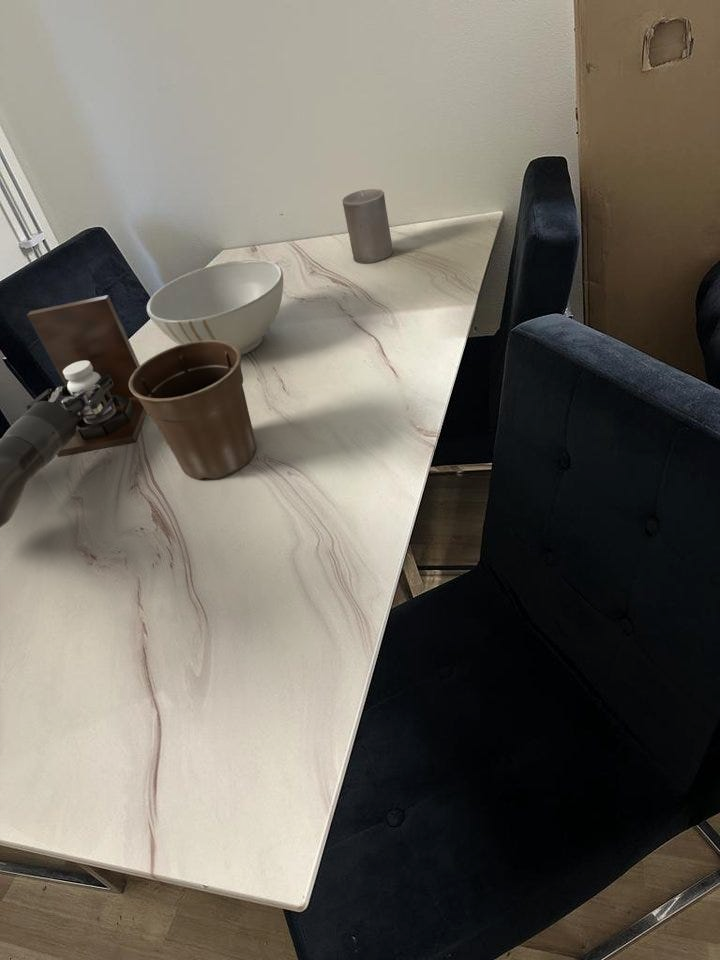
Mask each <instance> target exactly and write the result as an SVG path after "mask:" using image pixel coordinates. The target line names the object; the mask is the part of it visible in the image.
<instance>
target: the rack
mask: <svg viewBox="0 0 720 960" xmlns="http://www.w3.org/2000/svg"><path fill="white" fill-rule="evenodd" d="M26 316H27V318H28V320H29V321H30V323H31V325H32V327H33V329H34V331H35V333H36V334H37V336H38V338H39V340H40V342H41V344H42V346H43V348H44V349H45V351H46V353H47V355H48V356H49V359H50V360H51V362H52V364H53V366H54V367H55V370H56V371H57V373H58V375H59V378H60V379H61V380H62V382H63V385H65V384H66V383H67V382H68V381H69V380H67V379H66V378H65V376H64V374H63V370H64V369H65V368H66V367H67V366H69V365H71V364H73V363H75V362H78V361H84V360H86V361H89V362H90V363H91V365H92V367H93V372H96V373H98V374H99V375H100V376H101V377H102V376H103V375H104V374H109V375H110V377H111V379H112V381H113V383H114V385H113V386H112V387H111V388H110V389H109V392H110V394H111V396H112V398H113V400H112V401H113V403H114V405H115V407H116V413H115V414H114V416H113V417H112V418H110V419H109V420H107V421H105V422H103V423H99V424H88V423H86V422H85V421H84V419H81V420H80V421H79V422H77V426H76V433H75V435H74V436H73V438H72V439H71V440H70V441H69V442H68V443H67V444H66V445H65V446H64V448H63V449H62V450H61V451H60V452H59V453H58V454H57V455H56V457H64V456H68V455H74V454H79V453H84V452H90V451H95V450H100V449H106V448H111V447H116V446H122V445H127V444H133V443H136V442H137V439H138V437H139V434H140V431H141V429H142V427H143V424H144V422H145V418H146V415H147V414H148V413H147V412H146V410H145V409H144V407H143V405H142V404H141V402H140V400H139V399H138V398H137V397H135V396H134V395H133V394H132V392H131V390H130V388H129V381H130V378H131V376H132V374H133V373H134V371H135V370H136V369H137V368H138V367H139V366H141V364H140V362H139V360H138V357H137V355H136V352H135V351H134V349H133V346H132V345H131V342H130V340H129V337H128V336H127V333H126V331H125V329H124V327H123V324H122V322H121V320H120V318H119V316H118V313H117V311H116V309H115V306H114V304H113V302H112V300H111V298H110V295H109V294H107V295H106V294H105V295H102V296H101V295H100V296H97V297H92V298H88V299H83V300H77V301H73V302H69V303H64V304H58V305H55V306H53V305H52V306H50V307H45V308H40V309H39V308H38V309H35V310H30V311H29V312H28V314H27V315H26Z"/></svg>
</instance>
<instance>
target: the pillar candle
mask: <svg viewBox="0 0 720 960" xmlns="http://www.w3.org/2000/svg"><path fill="white" fill-rule="evenodd" d="M385 197H386V196H385V192H384V191H383V190H382V189H379V188H378V189H377V188H376V189H375V188H370V189H361V190H358V191H354V192H352V193H349V194H347V195H346V196H344V197H343V198H342V207H343V211H344V217H345V222H346V227H347V232H348V236H349V241H350V242H349V243H350V247H351V253H352V259H353V261H354V262H356V263H358V264H373V263H377V262H380V261H383V260H386V259H387V258H389V257H390V256H392V254H393V251H394V248H393V241H392V236H391V235H392V234H391V230H390V224H389V217H388V210H387V204H386V198H385Z"/></svg>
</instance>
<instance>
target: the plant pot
mask: <svg viewBox="0 0 720 960" xmlns="http://www.w3.org/2000/svg"><path fill="white" fill-rule="evenodd" d="M241 362H242V355H241V353H240V350H239V349H238V348H237V347H236V346H235V345H234V344H232V343H229V342H226V341H221V340H203V341H195V342H189V343H185V344H181V345H179V344H177V345H175V346H173V347H170V348H168V349H164V350H163V351H161V352H158V353H157V354H155V355H153V356H152V357H150V358H148V359H146V361H144V362H143V363H141V364H140V366H139V367H138V368H137V369H136V370H135V371H134V373H133V374H132V376H131V378H130V381H129V388H130V390H131V392H132V394H133V395H134V396H135V397H137V398H138V399H139V400H140V402H141V404H142V405H143V407H144V409H145V410H146V412H147V413H146V414H148V415H149V416H150V417H151V418H152V420H153V422H154V423H155V426H156V427H157V429H158V430H159V432H160V433H161V435H162V437H163V439H164V440H165V442H166V444H167V445H168V448H169V449H170V452H172V454H173V456H174V459H176V461H177V463H178V465H179V467H180V469H181V471H182V472H183V473H184V474H185V475H186V476H188V477H189V478H191V479H195V480H199V481H200V480H203V479H204V478H205V479H210V480H216V479H221V478H224V477H227V476H230V475H232V474H234V473H236V472H237V471H239V470H241V469H242V468H244V467H245V466H246V465H248V464H249V463H250V462H251V461H252V459H253V457H254V452H255V451H256V450H257V441H256V437H255V434H254V429H253V425H252V420H251V416H250V412H249V408H248V403H247V398H246V395H245V389H244V385H243V384H244V376H243V375H244V374H243V372H242V367H241V366H242V365H241Z"/></svg>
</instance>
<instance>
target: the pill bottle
mask: <svg viewBox="0 0 720 960" xmlns="http://www.w3.org/2000/svg"><path fill="white" fill-rule="evenodd" d="M63 374H64V376H65V378H66V379H67V380H69V382H68V384H67V388H68V390H69V392H70V394H71V396H72V395H74V394H75V393H77V392H79V391H80V390H82V389H84V390H87V389H89V388H91V387H92V386H94V384H95V383H96V382H97V381H98V380H99V379H100V378H101V376H100V375H99V374H98V373H96V372H93V367H92V365H91V363H90V362H89V361H86V360H84V361H78V362H75V363H73V364H71V365H69V366H67V367H66V368H65V369H64V370H63ZM94 396H95V392H94V393H92V394H91V397H92V399H93V397H94ZM81 398H82V400H83V402H84V404H85V407H86V406H87V403H86V401H85V399H84V397H83V396H82V397H81ZM115 413H116V407H115V405H114V403H113V401H111V403H110V404H109V406H108V407H107V409H106V410H105V412H104V413H103V415H102V416H101V417H99V418H95V416H94V414H88V415H86V416H85V417H84V418H83V419H84V421H85V422H86V423H88V424H99V423H103V422H105V421H107V420H109V419H110V418H112V417H113V416H114V414H115Z"/></svg>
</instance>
